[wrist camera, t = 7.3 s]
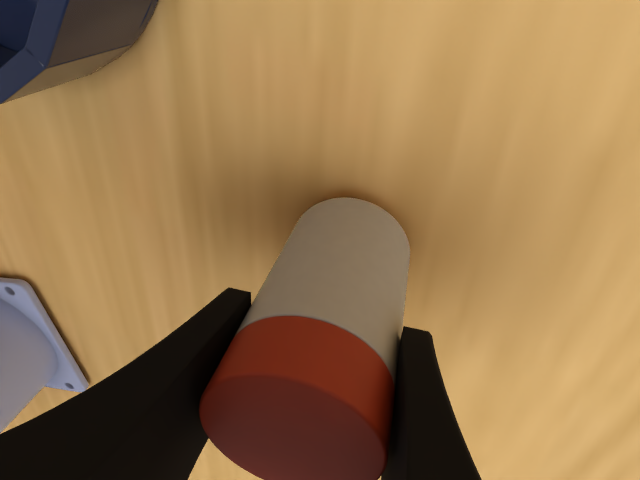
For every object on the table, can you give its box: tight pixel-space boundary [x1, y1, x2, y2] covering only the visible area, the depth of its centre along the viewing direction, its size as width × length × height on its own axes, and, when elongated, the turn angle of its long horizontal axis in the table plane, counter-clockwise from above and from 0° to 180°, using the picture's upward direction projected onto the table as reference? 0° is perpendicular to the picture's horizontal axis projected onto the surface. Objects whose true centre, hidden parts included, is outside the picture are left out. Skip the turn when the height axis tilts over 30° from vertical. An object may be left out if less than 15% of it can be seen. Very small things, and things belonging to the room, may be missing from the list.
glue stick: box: [199, 198, 410, 480], centre depth 11 cm, size 4×4×7 cm
